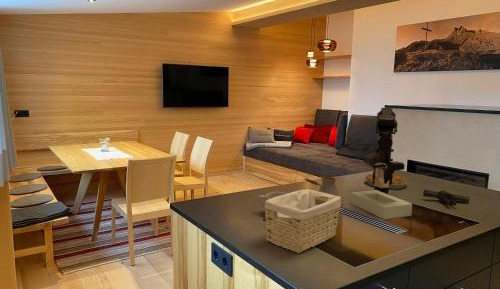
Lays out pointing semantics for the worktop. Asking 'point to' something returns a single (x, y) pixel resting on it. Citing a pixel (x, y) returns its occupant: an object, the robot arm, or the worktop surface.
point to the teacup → (269, 196)
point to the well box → (381, 204)
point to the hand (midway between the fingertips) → (381, 182)
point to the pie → (397, 181)
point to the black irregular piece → (446, 197)
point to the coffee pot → (325, 187)
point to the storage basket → (301, 218)
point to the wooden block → (380, 178)
